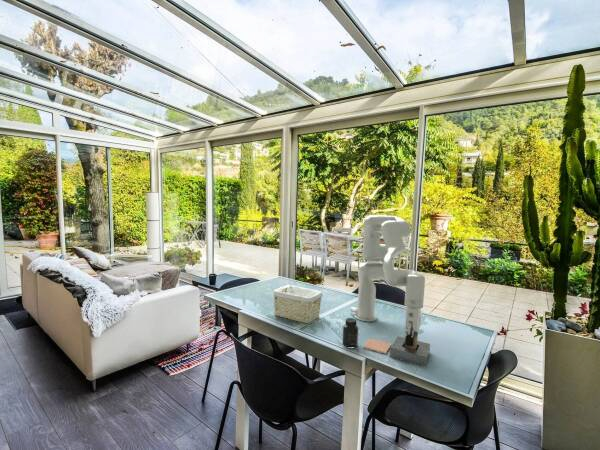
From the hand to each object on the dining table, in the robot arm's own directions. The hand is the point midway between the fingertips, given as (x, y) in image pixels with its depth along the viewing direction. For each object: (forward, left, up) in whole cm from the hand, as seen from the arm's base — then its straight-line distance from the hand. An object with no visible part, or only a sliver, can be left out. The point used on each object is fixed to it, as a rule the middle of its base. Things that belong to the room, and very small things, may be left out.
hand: (411, 341), depth 134 cm
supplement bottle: (-25, -7, -6) cm, 27 cm away
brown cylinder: (0, 0, -6) cm, 6 cm away
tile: (-14, -1, -6) cm, 15 cm away
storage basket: (-63, +10, -6) cm, 64 cm away
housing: (0, 0, -6) cm, 6 cm away
